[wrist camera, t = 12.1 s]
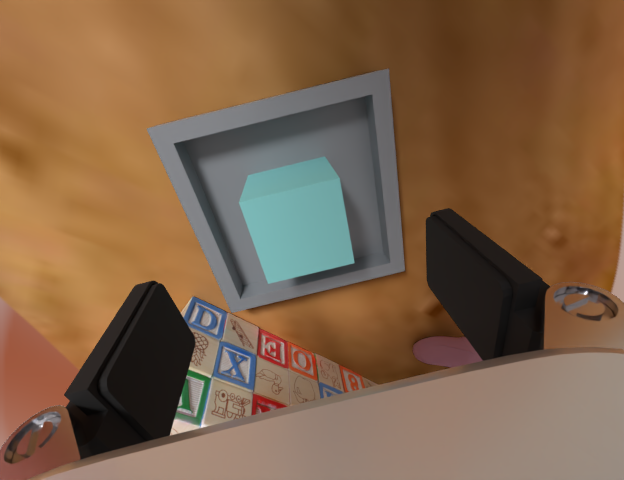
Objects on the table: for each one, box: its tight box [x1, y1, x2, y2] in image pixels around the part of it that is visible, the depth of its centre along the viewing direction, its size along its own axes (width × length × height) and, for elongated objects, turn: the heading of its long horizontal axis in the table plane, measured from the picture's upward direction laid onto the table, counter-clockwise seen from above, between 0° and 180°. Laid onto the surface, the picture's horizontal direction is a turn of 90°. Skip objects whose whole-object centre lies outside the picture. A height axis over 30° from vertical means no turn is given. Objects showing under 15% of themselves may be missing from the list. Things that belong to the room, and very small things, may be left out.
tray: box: [147, 69, 405, 313], centre depth 19 cm, size 13×13×2 cm
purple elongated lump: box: [413, 336, 483, 368], centre depth 27 cm, size 10×5×7 cm, turn 41°
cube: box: [239, 156, 355, 284], centre depth 18 cm, size 5×5×5 cm
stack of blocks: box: [170, 297, 378, 435], centre depth 22 cm, size 21×6×12 cm, turn 52°
